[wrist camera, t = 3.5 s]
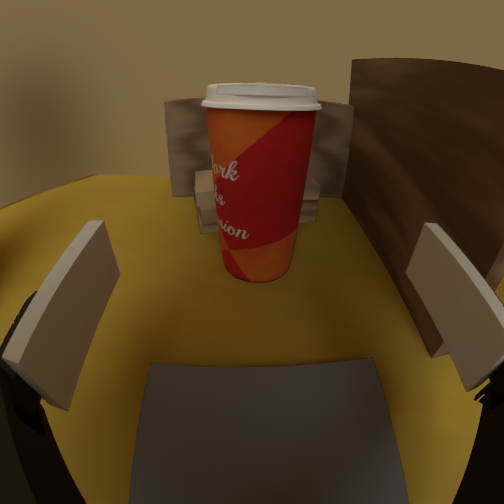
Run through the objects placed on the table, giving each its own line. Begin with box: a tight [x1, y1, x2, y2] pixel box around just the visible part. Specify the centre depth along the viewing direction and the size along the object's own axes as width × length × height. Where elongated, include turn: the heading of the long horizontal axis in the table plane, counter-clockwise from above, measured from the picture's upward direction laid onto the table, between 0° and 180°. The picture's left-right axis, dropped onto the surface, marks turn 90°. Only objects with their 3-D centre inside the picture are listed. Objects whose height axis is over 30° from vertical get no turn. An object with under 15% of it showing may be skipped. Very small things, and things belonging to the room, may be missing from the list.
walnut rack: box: [164, 58, 504, 358], centre depth 20 cm, size 24×26×18 cm
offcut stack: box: [193, 170, 320, 234], centre depth 29 cm, size 12×7×4 cm, turn 103°
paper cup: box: [201, 83, 322, 283], centre depth 19 cm, size 8×8×14 cm
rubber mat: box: [129, 357, 409, 504], centre depth 9 cm, size 13×13×1 cm
